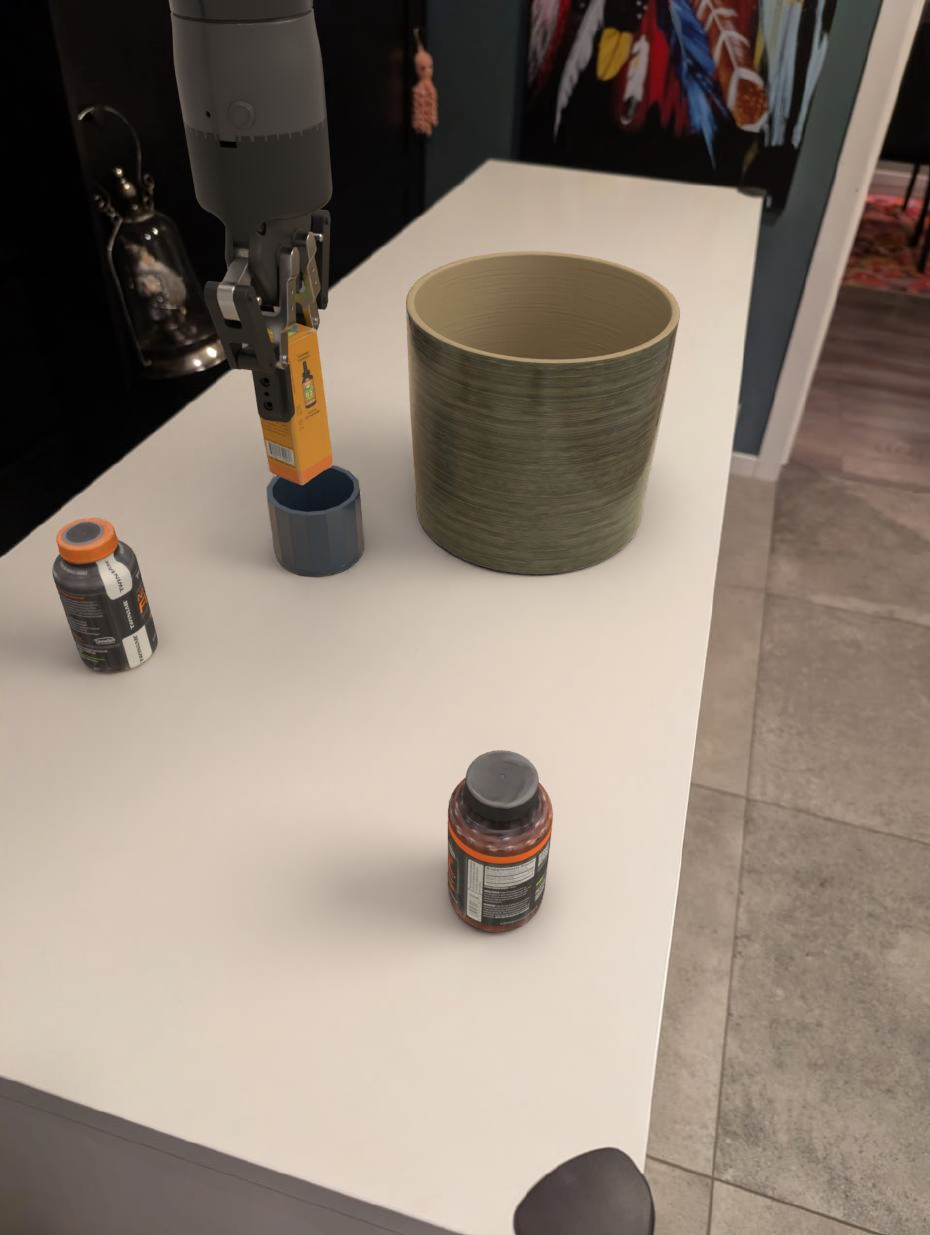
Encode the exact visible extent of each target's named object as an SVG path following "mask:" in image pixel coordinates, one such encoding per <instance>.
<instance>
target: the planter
mask: <svg viewBox="0 0 930 1235" xmlns="http://www.w3.org/2000/svg"><path fill="white" fill-rule="evenodd" d="M405 313H406V314H405V317H406V342H407V344H406V345H407V366H408V368H407V370H408V386H409V387H408V389H409V409H410V410H409V412H410V429H411V442H412V456H413V457H412V458H413V459H412V460H413V473H414V475H413V476H414V492H415V507H416V513H417V517H418V520H419V522H420V524H421V526H422V528H423V529H424V531H425V532H426V534H427V535H428V536H429V537H430V538H431V539H432V540H433V541H434V542H435V543H436V544H437V545H439V546H440V547H441V548H442V549H444V550H445V551H447V552H449V553H450V554H452V555H453V556H455V557H457V558H460V559H461V560H464V561H466V562H468V563H471V564H474V565H477V566H480V567H483V568H486V569H490V570H495V571H499V572H505V573H511V574H524V575H550V574H561V573H567V572H572V571H573V572H574V571H577V570H581V569H584V568H588V567H591V566H594V565H597V564H599V563H601V562H604V561H605V560H607V559H610V558H611V557H613V556H614V555H616V554H617V553H619V552H620V551H621V550H623V549H624V548H625V547H626V546H627V545H628V544H629V543H630V542H631V541H632V539H634V536H635V535H636V533H637V532H638V530H639V527H640V525H641V521H642V516H643V511H644V507H645V500H646V495H647V491H648V485H649V480H650V476H651V470H652V465H653V462H654V456H655V451H656V446H657V443H658V436H659V432H660V426H661V422H662V417H663V412H664V406H665V401H666V395H667V391H668V385H669V379H670V375H671V374H670V373H671V369H672V363H673V358H674V352H675V346H676V341H677V335H678V330H679V325H680V324H679V323H680V318H681V310H680V305H679V303H678V300H677V299H676V297H675V296H674V294H673V293H672V292H671V291H670V290H669V289H668V288H667V287H665V286H664V285H663V284H662V283H660V282H659V281H658V280H656V279H654V278H653V277H651V276H649V275H647V274H645V273H644V272H641V271H639V270H637V269H634V268H632V267H629V266H626V265H623V264H620V263H617V262H613V261H610V260H607V259H603V258H597V257H593V256H588V255H583V254H582V255H581V254H575V253H565V252H557V251H556V252H555V251H535V250H533V251H531V250H530V251H529V250H528V251H527V250H526V251H525V250H524V251H506V252H495V253H487V254H481V255H475V256H470V257H467V258H466V257H465V258H462V259H458V260H455V261H452V262H449V263H446V264H443V265H441V266H439V267H437V268H436V267H435V269H433V270H430V271H429V272H427V273H426V274H424V275H422V276H421V277H420V278H418V279H417V280H416V281H415V282H414V283H413V284H412V286H411V287H410V289H409V290H408V292H407V294H406V299H405Z"/></svg>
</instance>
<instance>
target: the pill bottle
mask: <svg viewBox="0 0 930 1235" xmlns="http://www.w3.org/2000/svg"><path fill="white" fill-rule="evenodd" d="M55 541H56V545H57V548H58V553H59V554H58V555H57V556H56V558H55V560H54V561H53V564H52V570H51V571H52V578H53V582H54V585H55V587H56V590H57V593H58V596H59V599H60V601H61V605H62V607H63V611H64V614H65V618H66V620H67V623H68V626H69V629H70V632H71V635H72V638H73V641H74V644H75V647H76V650H77V653H78V656H79V657H80V660H81V661H82V663H83V664H84V665H85V666H86V667H88V668H90V669H91V670H93V671H97V672H100V673H119V672H125V671H128V670H131V669H133V668H136V667H137V666H140V665H141V664H143V663H144V662H146V661H147V660H148V659H149V658H150V657H151V656H152V655H153V654H154V652H156V651H155V650H156V648H157V646H158V642H159V639H158V634H157V630H156V627H155V622H154V619H153V615H152V611H151V606H150V604H149V599H148V596H147V592H146V588H145V584H144V581H143V577H142V573H141V569H140V566H139V562H138V558H137V555H136V553H135V551H134V550H133V548H132V547H130V545H128V544H127V543H126V542H124V541H122V540H120V539H119V538H118V535H117V533H116V529H115V527H114V525H113V523H111V522H110V521H108V520H106V519H103V518H99V517H86V518H85V517H84V518H81V519H76V520H74V521H72V522H69V523H67V524H66V525H64V526H63V527H62V528H60V529H59V531H58V532H57V534H56V538H55Z"/></svg>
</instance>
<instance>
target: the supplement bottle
mask: <svg viewBox="0 0 930 1235" xmlns="http://www.w3.org/2000/svg"><path fill="white" fill-rule="evenodd" d="M553 821H554V811H553V805H552V801H551V797H550V795H549V794H548V792H547V790H546V789H545V787H544V786H543V785H542V783H540V778H539V774H538V770H537V768H536V767H535V765H534V764H533V763H532V762H531V760H530V759H528V758H527V757H525V756H524V755H522V754H520V753H518V752H514V751H512V750H505V749H504V750H503V749H502V750H499V749H497V750H492V751H491V750H490V751H488V752H485V753H482V754H479V756H477V757H476V758H475V759H474V760H472V762H471V763H470V764H469V765H468V767H467V770H466V773H465V777H464V778H463V779H462V780H460V781H459V783H458V784H457V785H456V786H455V788H454V789H453V791H452V793H451V795H450V798H449V800H448V808H447V889H448V896H449V899H450V902H451V905H452V906H453V909H454V911H456V913H457V915H458V916H459V917H460V918H461V919H462V920H463V921H464V922H465V923H467V924H469V925H471V926H473V927H474V928H476V929H479V930H482V931H485V932H490V933H503V932H508V931H513V930H516V929H518V928H521V927H522V926H524V925H526V924H527V923H528V922H530V920H532V918H534V916H535V915H537V912H538V911H539V909H540V908H541V905H542V902H543V898H544V895H545V890H546V882H547V881H546V880H547V874H548V873H547V871H548V866H549V865H548V864H549V857H550V848H551V839H552V830H553Z"/></svg>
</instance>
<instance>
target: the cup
mask: <svg viewBox="0 0 930 1235" xmlns="http://www.w3.org/2000/svg"><path fill="white" fill-rule="evenodd" d="M266 500H267V507H268V508H267V509H268V514H269V522H270V528H271V536H272V542H273V550H274V554H275V558H276V560H277V561H278V563H279V565H280V566H281V567H282V568H284V569H285V570H287V571H288V572H291V573H293V574H296V575H299V576H304V577H327V576H333V575H336V574H339V573H341V572H344V571H346V570H348V569H350V568H351V567H352V566H354V565H355V564H356V563H357V562H358V561H359V560H360V559H361V557H362V556H363V553H364V549H365V548H364V545H365V541H364V528H363V526H364V525H363V510H362V498H361V486H360V480H359V479H358V478H357V476H355V475H354V474H353V473H352V471H350V470H348V469H346V468H343V467H341V466H338V465H335V464H333V465H332V466H331V467H330V468H328V469H326V470H324V471H323V472H321V473H320V474H318V475H317V476H315V477H314V478H312V479H311V480H310V481H308V482H307V483H306V484H304V485H299V484H297V483H294V482H292V481H289V480H287V479H284V478H282V477H280V476H277V475H275V476H274V477H273V478H271V480H270V482H269V483H268V485H267V486H266Z"/></svg>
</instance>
